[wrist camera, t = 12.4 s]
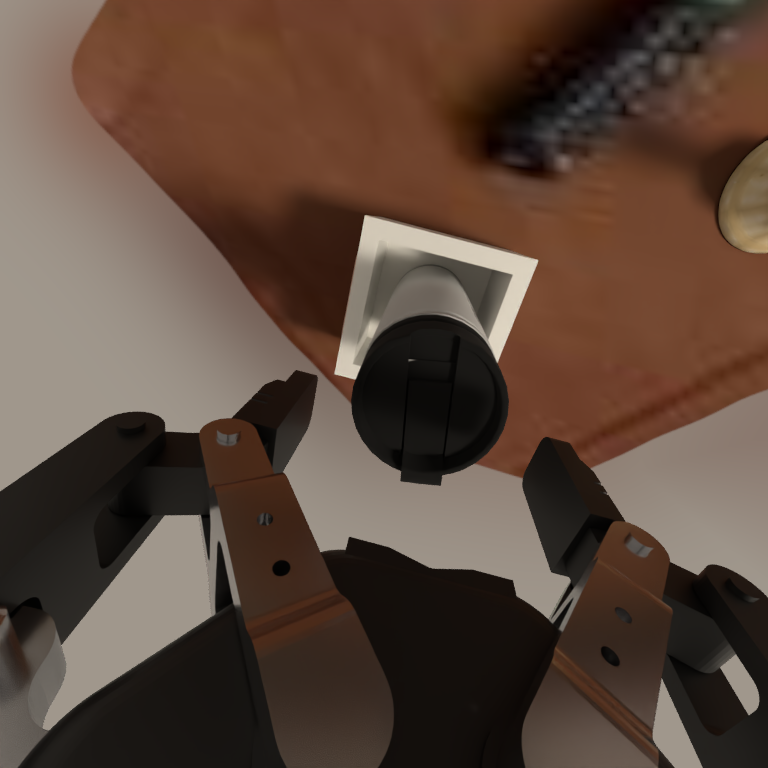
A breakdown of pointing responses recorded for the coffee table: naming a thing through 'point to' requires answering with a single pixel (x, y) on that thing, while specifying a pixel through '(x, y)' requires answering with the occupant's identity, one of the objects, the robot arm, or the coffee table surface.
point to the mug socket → (422, 247)
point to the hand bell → (747, 203)
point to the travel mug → (429, 381)
